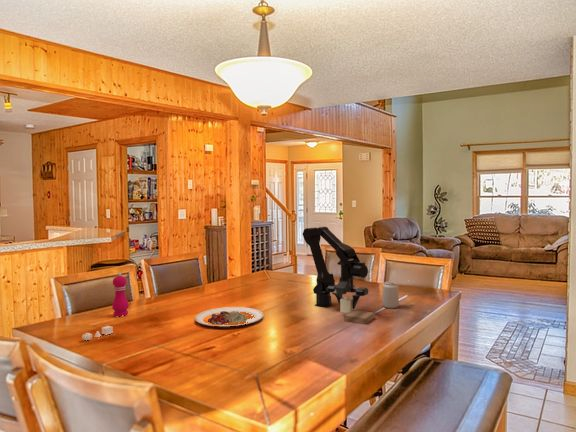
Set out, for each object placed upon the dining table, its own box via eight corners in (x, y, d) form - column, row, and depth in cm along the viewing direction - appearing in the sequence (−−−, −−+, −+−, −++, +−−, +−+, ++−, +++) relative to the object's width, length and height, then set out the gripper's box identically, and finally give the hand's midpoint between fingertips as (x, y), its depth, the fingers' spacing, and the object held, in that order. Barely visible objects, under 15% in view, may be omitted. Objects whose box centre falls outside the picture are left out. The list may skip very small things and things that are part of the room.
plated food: (271, 312, 211) (271, 305, 211) (249, 332, 182) (249, 324, 182) (213, 309, 219) (212, 302, 219) (182, 327, 190) (182, 319, 190)
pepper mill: (132, 314, 212) (130, 271, 210) (120, 318, 205) (119, 274, 204) (120, 312, 215) (119, 271, 214) (109, 316, 208) (107, 273, 207)
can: (399, 309, 212) (398, 284, 212) (382, 308, 214) (382, 283, 213) (398, 305, 220) (398, 280, 219) (382, 304, 221) (382, 280, 221)
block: (340, 312, 209) (340, 299, 209) (344, 309, 213) (344, 297, 213) (350, 313, 207) (350, 300, 206) (354, 311, 211) (354, 298, 211)
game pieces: (108, 333, 184) (107, 325, 184) (113, 334, 182) (113, 326, 182) (80, 341, 174) (80, 333, 174) (86, 343, 172) (85, 334, 172)
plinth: (344, 322, 195) (343, 315, 195) (353, 316, 203) (353, 309, 203) (365, 325, 189) (365, 318, 189) (374, 319, 198) (374, 312, 198)
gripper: (321, 276, 207) (321, 309, 208) (359, 279, 197) (359, 315, 198) (331, 272, 217) (332, 304, 217) (368, 275, 207) (368, 309, 208)
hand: (347, 308), depth 210 cm, fingers open, 6 cm apart
